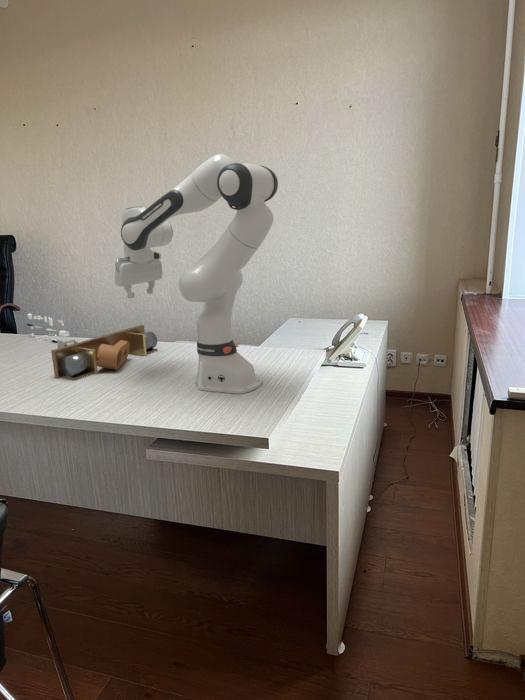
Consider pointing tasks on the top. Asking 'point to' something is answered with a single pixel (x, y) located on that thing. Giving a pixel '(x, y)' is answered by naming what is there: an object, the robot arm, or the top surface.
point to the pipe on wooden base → (83, 355)
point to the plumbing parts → (63, 333)
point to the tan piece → (113, 355)
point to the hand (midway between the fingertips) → (140, 295)
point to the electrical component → (65, 342)
